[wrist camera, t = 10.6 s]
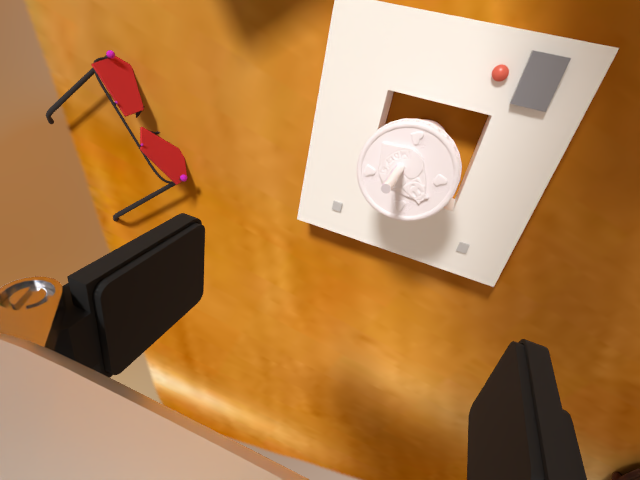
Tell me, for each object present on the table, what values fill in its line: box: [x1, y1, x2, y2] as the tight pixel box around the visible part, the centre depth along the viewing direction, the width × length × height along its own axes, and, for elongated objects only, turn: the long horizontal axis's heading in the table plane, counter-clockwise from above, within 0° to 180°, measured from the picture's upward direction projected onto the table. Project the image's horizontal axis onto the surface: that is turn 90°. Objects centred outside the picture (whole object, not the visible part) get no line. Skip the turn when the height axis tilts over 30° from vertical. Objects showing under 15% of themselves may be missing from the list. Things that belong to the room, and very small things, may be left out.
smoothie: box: [357, 118, 462, 221], centre depth 25 cm, size 6×6×14 cm
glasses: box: [46, 50, 187, 221], centre depth 41 cm, size 14×16×5 cm
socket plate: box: [297, 0, 619, 287], centre depth 30 cm, size 18×18×4 cm
